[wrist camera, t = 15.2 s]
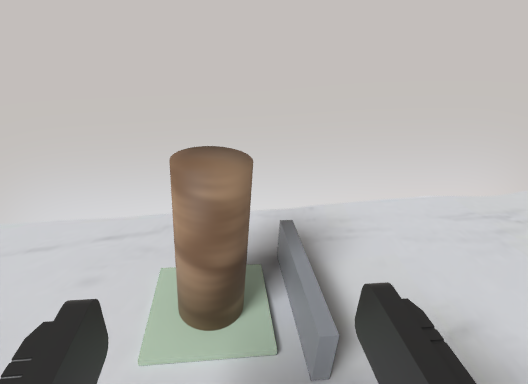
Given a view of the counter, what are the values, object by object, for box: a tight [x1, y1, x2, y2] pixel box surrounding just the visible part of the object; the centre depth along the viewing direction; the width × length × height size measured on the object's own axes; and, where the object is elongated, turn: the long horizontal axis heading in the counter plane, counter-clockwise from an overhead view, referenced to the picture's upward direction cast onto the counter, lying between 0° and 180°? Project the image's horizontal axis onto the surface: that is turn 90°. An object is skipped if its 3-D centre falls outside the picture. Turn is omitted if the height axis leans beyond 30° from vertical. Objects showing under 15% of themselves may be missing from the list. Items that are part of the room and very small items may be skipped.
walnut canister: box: [170, 146, 253, 331], centre depth 22 cm, size 5×5×12 cm
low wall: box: [277, 220, 339, 381], centre depth 25 cm, size 1×13×4 cm, turn 8°
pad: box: [138, 264, 277, 366], centre depth 25 cm, size 9×9×1 cm
